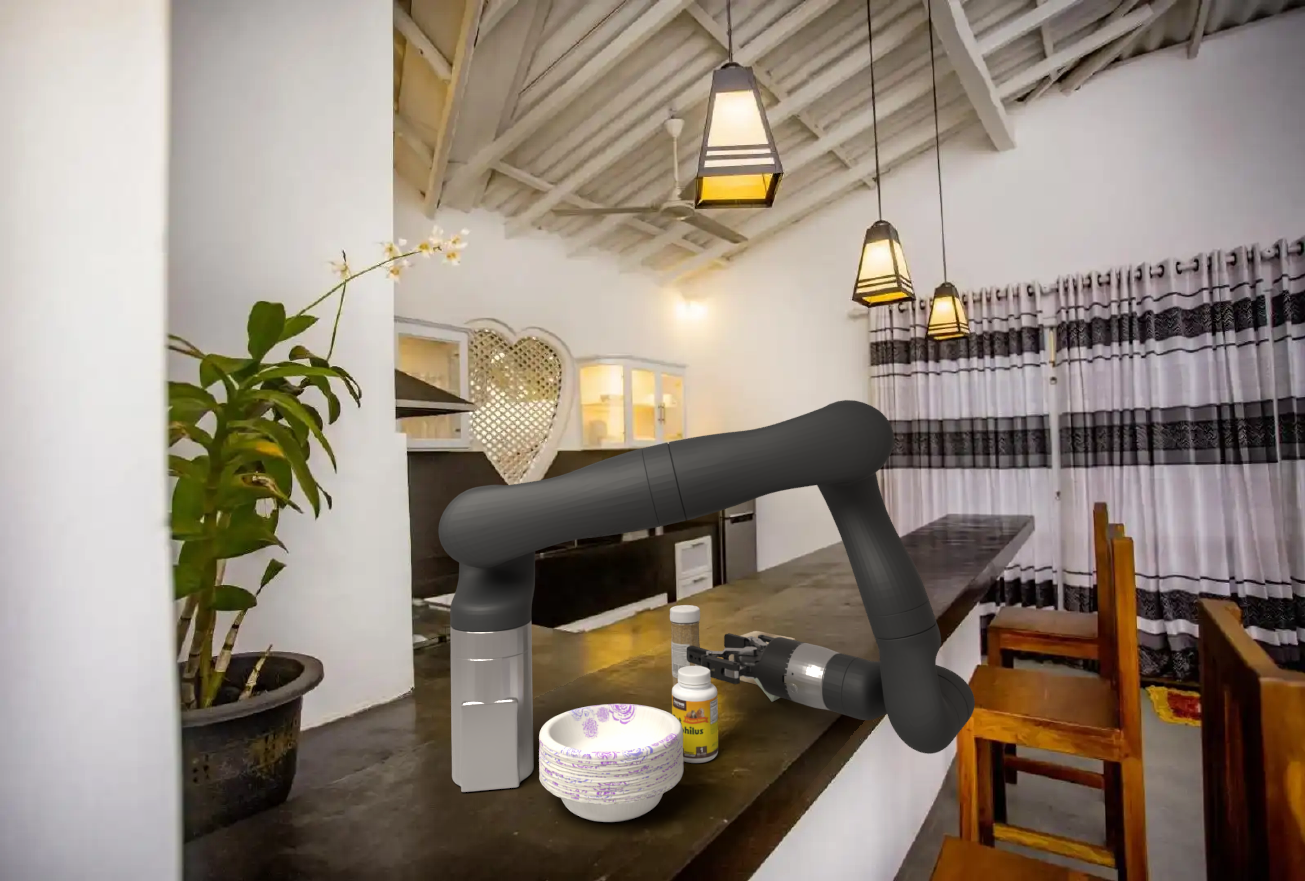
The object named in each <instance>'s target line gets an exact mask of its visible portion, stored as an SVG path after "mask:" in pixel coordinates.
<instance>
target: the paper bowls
mask: <svg viewBox="0 0 1305 881" xmlns="http://www.w3.org/2000/svg"><path fill="white" fill-rule="evenodd" d="M538 734H539V736H538V739H539V740H538V741H539V742H538V743H539V749H538V751H539V752H538V754H539V755H538V758H539V759H538V762H539V763H538V764H539V765H538V767H539V768H538V769H539V770H538V772H539V778H538V779H539V781H540V784H541V785H542V786H543V787H544V788H545V789H546V790H547V791H548V792H549V793H551V794H552V795H554V796H555V797H558V798H560V799H561V801H562V803H563V804H564V806H565V808H567V809H568V811H570V812H571V813H573V814H574V815H575V816H579V817H580V818H582V819H586V820H589V821H593V822H603V823H615V822H624V821H629V820H632V819H635V818H639V817H641V816H644V815H646V814H647V813H648V812H650V811H651V810H653V809H654V808H655V807H656V806H657V805H658V804H659V802H660V801H661V799H662V797H663V794H664V793H666V792H668V791H670V790H671V789H673V788H674V787H675V786H676V785H677V784H678V783H679V782H680V781H681V779H682V777H683V775H684V761H683V728H682V725H681V723H680V722H679V720H678V719H677V718H676V717H675V716H673V715H672V713H671V712H668V711H666V710H663V709H660V708H657V707H653V706H648V705H643V704H642V705H641V704H633V703H632V704H631V703H608V704H607V703H606V704H596V705H588V706H584V707H583V706H582V707H579V708H578V707H577V708H573V709H571V710H567V711H565V712H562V713H560V714H558V715H555V716H553V717H551V718H550V719H549V720H547V721H546V722H545V723H544V724H543V725H542V726H541V729H540V731H539V733H538Z"/></svg>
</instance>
